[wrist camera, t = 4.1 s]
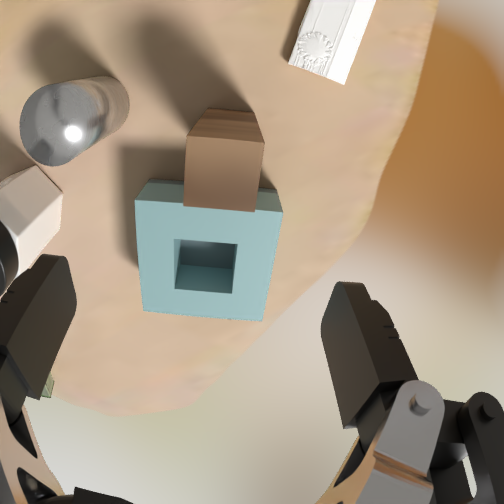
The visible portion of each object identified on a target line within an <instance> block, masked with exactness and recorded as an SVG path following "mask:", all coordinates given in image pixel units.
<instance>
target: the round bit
mask: <svg viewBox="0 0 504 504" xmlns="http://www.w3.org/2000/svg"><path fill="white" fill-rule="evenodd" d="M129 106H130V104H129V96H128V93H127V91H126V89H125V87H124V86H123V85H122V84H121V83H120V82H119V81H118V80H116V79H114V78H112V77H108V76H98V77H91V78H85V79H79V80H73V81H67V82H62V83H56V84H51V85H47V86H44V87H41V88H40V89H38V90H37V91H35V92H34V93H33V94H32V95H31V96H30V97H29V99H28V100H27V101H26V103H25V105H24V107H23V110H22V113H21V117H20V135H21V139H22V142H23V145H24V147H25V149H26V150H27V152H28V153H29V155H30V156H31V157H32V158H33V159H35V160H36V161H37V162H39V163H41V164H43V165H47V166H60V165H63V164H65V163H67V162H69V161H70V160H72V159H73V158H75V157H76V156H78V155H79V154H81V153H82V152H84V151H85V150H87V149H88V148H90V147H91V146H93V145H95V144H96V143H98V142H99V141H101V140H102V139H104V138H106V137H107V136H109V135H111V134H112V133H114V132H115V131H117V130H118V129H119V128H120V127H121V126H122V125H123V123H124V122H125V120H126V118H127V116H128V112H129Z"/></svg>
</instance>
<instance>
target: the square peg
mask: <svg viewBox="0 0 504 504" xmlns="http://www.w3.org/2000/svg"><path fill="white" fill-rule="evenodd" d="M264 145H265V142H264V139H263V136H262V134H261V131H260V128H259V125H258V122H257V119H256V116H255V113H254V112H245V111H235V110H224V109H212V108H208V109H207V110H206V111H205V113H204V114H203V115H202V116H201V118H200V119H199V120H198V122H197V123H196V124H195V126H194V127H193V128H192V130H191V131H190V132H189V134H188V135H187V140H186V156H185V174H184V197H183V206H186V207H198V208H210V209H222V210H233V211H244V212H255V207H256V200H257V193H258V186H259V179H260V172H261V165H262V158H263V151H264Z"/></svg>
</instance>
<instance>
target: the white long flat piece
mask: <svg viewBox="0 0 504 504" xmlns="http://www.w3.org/2000/svg"><path fill="white" fill-rule="evenodd" d="M375 2H376V0H311V1H310V3H309V6H308V8H309V9H308V8H307V10H308V11H306V13H307V14H306V13H305V15H306V17H305V16H304V18H305V19H304V18H303V20H304V22H303V21H302V23H303V24H302V23H301V25H302V27H301V26H300V28H301V30H300V28H299V31H298V34H299V35H297V36H298V38H297V40H296V43H295V46H294V48H293V51H292V54H291V56H290V59H289V62H288V64H290V65H293V66H296V67H299V68H302V69H305V70H307V71H310V72H313V73H315V74H318V75H321V76H323V77H326V78H328V79H331V80H333V81H336V82H338V83H341V84H343V85H344V83H345V81H346V78H347V76H348V73H349V70H350V68H351V65H352V63H353V60H354V57H355V55H356V52H357V50H358V47H359V44H360V42H361V39H362V36H363V34H364V31H365V28H366V26H367V23H368V20H369V18H370V15H371V12H372V10H373V7H374V4H375Z"/></svg>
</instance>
